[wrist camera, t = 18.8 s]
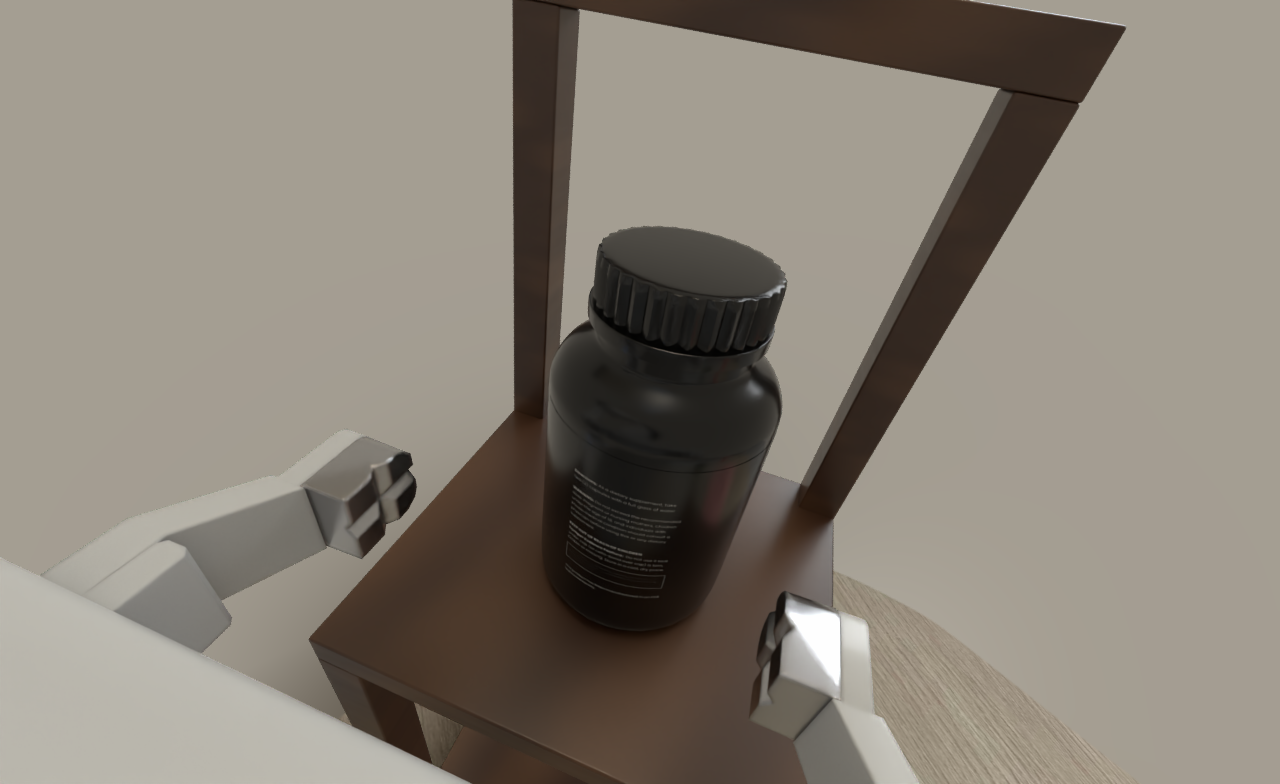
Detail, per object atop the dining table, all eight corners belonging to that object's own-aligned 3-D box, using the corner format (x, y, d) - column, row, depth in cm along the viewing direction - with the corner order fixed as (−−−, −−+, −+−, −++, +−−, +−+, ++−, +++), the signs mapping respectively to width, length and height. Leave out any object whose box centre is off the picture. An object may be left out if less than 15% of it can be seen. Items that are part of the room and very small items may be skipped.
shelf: (413, 846, 31) (-202, -354, 4) (524, 637, 42) (537, -65, 15) (658, 974, 28) (2714, -120, 2) (708, 714, 39) (1100, 28, 13)
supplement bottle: (751, 572, 19) (888, 293, 12) (612, 682, 15) (694, 366, 8) (640, 463, 23) (695, 202, 16) (506, 529, 19) (500, 222, 12)
